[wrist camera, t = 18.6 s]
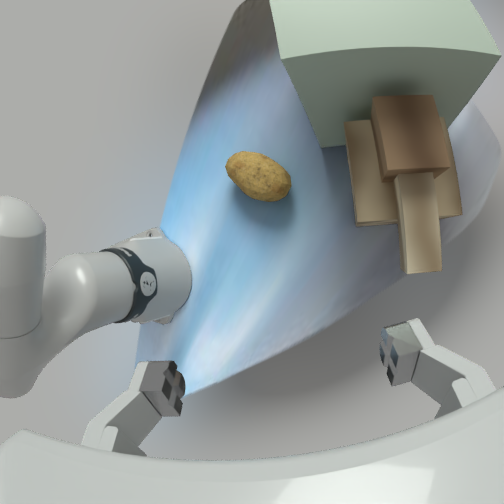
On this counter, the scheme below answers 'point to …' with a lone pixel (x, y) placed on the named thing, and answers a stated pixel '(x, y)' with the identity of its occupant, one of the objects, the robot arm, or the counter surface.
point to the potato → (258, 176)
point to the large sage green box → (380, 56)
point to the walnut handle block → (412, 173)
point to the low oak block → (382, 194)
